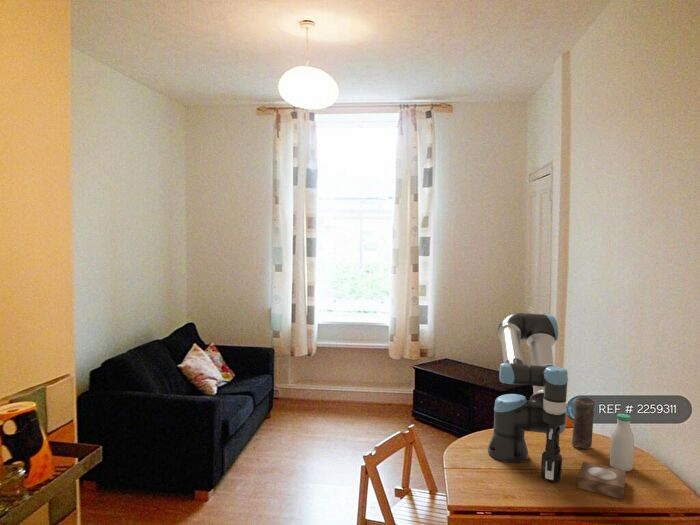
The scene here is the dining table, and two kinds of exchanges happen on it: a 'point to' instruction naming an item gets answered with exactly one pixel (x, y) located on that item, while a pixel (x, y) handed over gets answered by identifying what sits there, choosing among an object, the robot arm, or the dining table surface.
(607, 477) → the walnut plinth
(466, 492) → the dining table surface
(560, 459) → the supplement bottle
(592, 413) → the brown cylinder
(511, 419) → the robot arm
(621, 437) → the milk bottle
